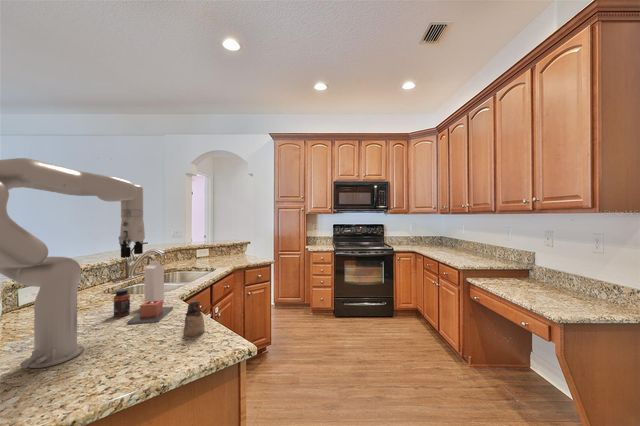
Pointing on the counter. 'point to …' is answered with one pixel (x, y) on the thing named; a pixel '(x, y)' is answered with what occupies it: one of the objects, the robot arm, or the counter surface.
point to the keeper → (150, 319)
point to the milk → (154, 281)
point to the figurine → (194, 320)
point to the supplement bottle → (121, 303)
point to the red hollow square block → (151, 308)
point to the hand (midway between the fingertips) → (132, 255)
